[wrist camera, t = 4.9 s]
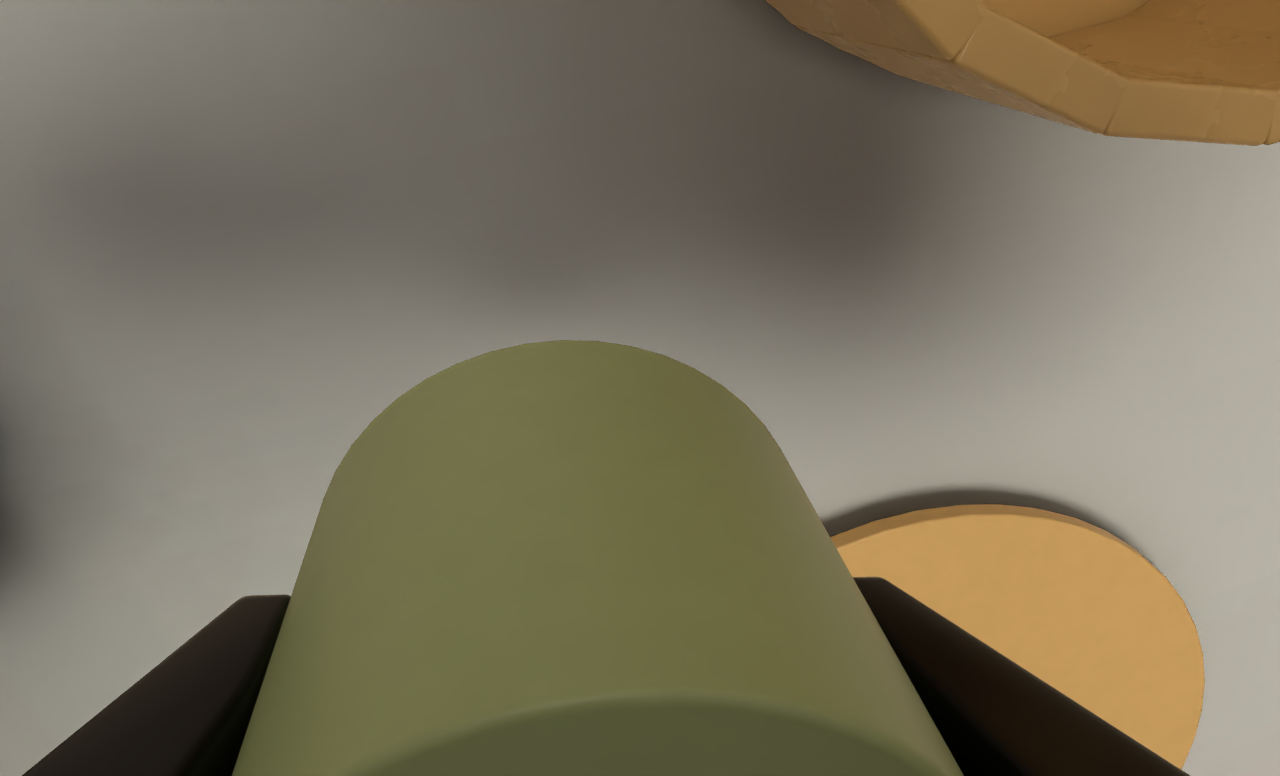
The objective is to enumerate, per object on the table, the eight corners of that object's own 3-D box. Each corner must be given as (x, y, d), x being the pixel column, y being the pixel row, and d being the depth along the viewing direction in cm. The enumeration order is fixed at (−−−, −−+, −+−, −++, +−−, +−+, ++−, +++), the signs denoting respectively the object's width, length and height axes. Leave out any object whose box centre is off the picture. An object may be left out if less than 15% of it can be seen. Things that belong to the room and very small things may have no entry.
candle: (258, 686, 9) (78, 1231, 5) (404, 260, 8) (301, 584, 4) (683, 779, 11) (792, 1272, 7) (883, 429, 9) (1183, 804, 5)
